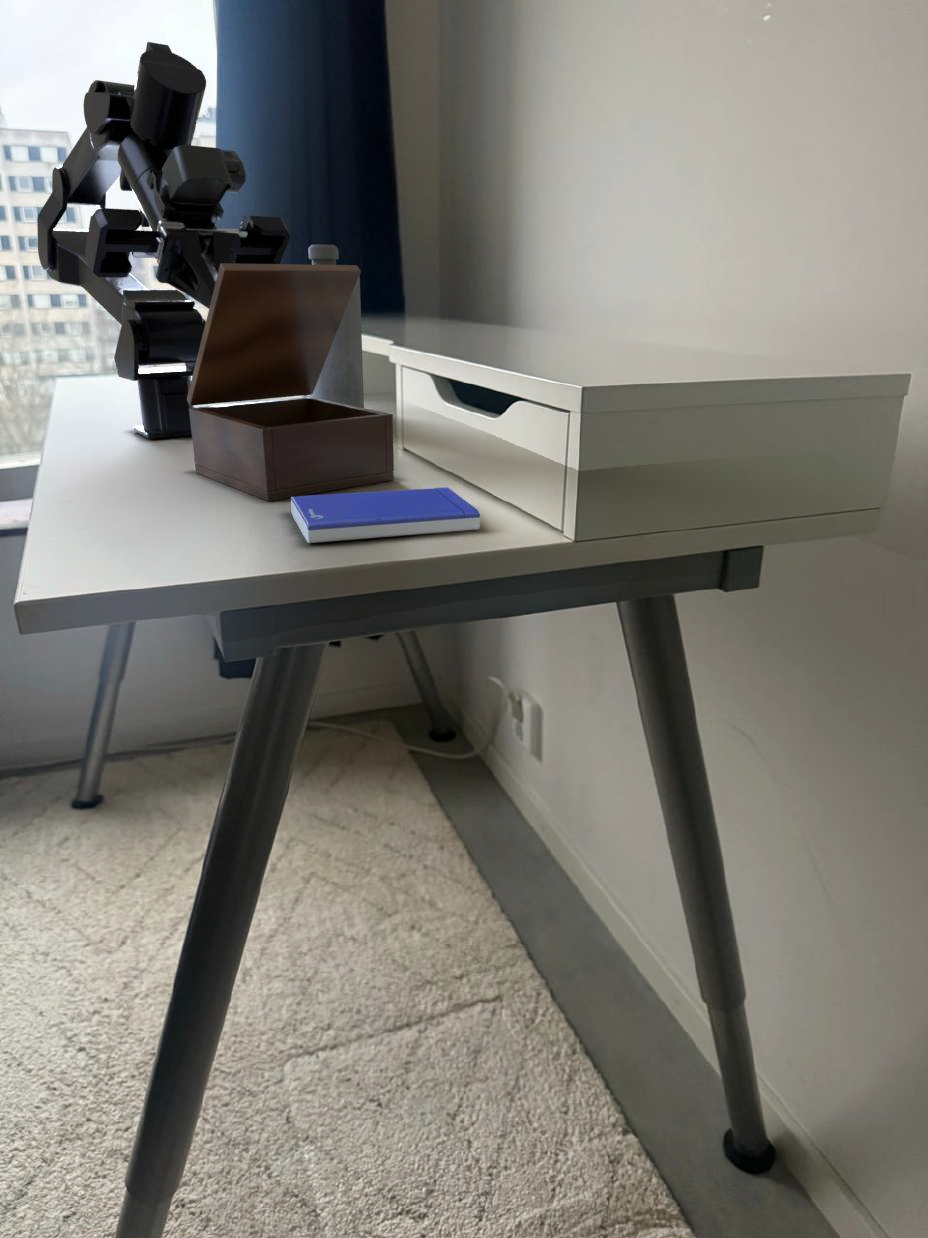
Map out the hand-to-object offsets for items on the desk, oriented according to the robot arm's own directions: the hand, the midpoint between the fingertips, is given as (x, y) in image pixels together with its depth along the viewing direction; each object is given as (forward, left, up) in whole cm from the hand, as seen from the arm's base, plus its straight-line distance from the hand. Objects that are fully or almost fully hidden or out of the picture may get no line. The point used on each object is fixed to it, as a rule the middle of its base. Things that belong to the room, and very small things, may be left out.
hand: (226, 313), depth 80 cm
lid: (+9, +1, -2) cm, 9 cm away
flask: (-18, +19, -14) cm, 30 cm away
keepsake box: (+10, +1, -13) cm, 17 cm away
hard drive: (+28, +1, -14) cm, 31 cm away
